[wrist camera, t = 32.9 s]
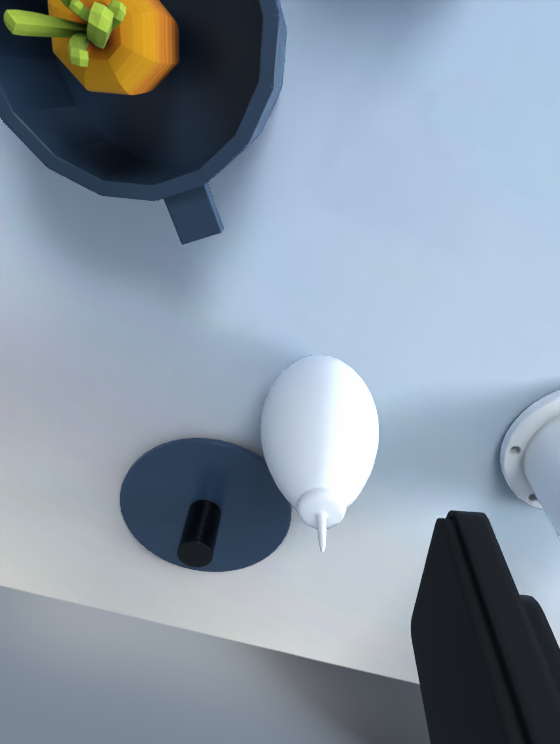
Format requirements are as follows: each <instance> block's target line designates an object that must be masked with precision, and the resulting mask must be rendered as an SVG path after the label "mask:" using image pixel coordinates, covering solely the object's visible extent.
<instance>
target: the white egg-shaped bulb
mask: <svg viewBox="0 0 560 744" xmlns="http://www.w3.org/2000/svg"><path fill="white" fill-rule="evenodd" d="M260 434H261V442H262V448H263V453H264V457H265V460H266V463H267V466H268V468H269V471H270V473H271V475H272V477H273V479H274V481H275V483H276V485H277V487H278V488H279V490H280V491H281V493H282V494H283V495H284V497H285V498H286V499H287V500H288V502H289V503H290V504H291V505H292V506H293V507H295V508H296V509H297V512H298V515H299V517H300V518H301V520H302V521H303V522H304V523H305V524H307V525H308V526H310V527H313V528H316V529H318V539H319V546H320V550H321V552H324V550H325V545H326V529H327V528H331V527H333V526H335V525H337V524H338V523H339V522H340V521H341V520H342V519H343V517H344V515H345V512H346V509H347V508H348V507H349V506H350V505H351V504H352V503H353V502H354V500H355V499H356V498H357V497H358V495H359V494H360V492H361V491H362V489H363V487H364V485H365V484H366V482H367V480H368V478H369V476H370V473H371V471H372V468H373V465H374V461H375V457H376V453H377V448H378V441H379V427H378V416H377V411H376V407H375V404H374V401H373V399H372V396H371V394H370V392H369V390H368V388H367V387H366V385H365V383H364V382H363V380H362V379H361V378H360V377H359V376H358V374H357V373H356V372H355V371H354V370H353V369H351V368H350V367H349V366H348V365H346V364H345V363H343V362H342V361H340V360H338V359H336V358H333V357H330V356H327V355H310V356H307V357H304V358H301V359H299V360H297V361H296V362H294V363H292V364H291V365H290V366H288V367H287V368H286V369H285V370H284V371H283V372H282V373H281V374H280V375H279V376H278V377H277V378H276V380H275V381H274V383H273V384H272V386H271V388H270V389H269V391H268V394H267V396H266V399H265V402H264V405H263V409H262V415H261V426H260Z"/></svg>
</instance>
